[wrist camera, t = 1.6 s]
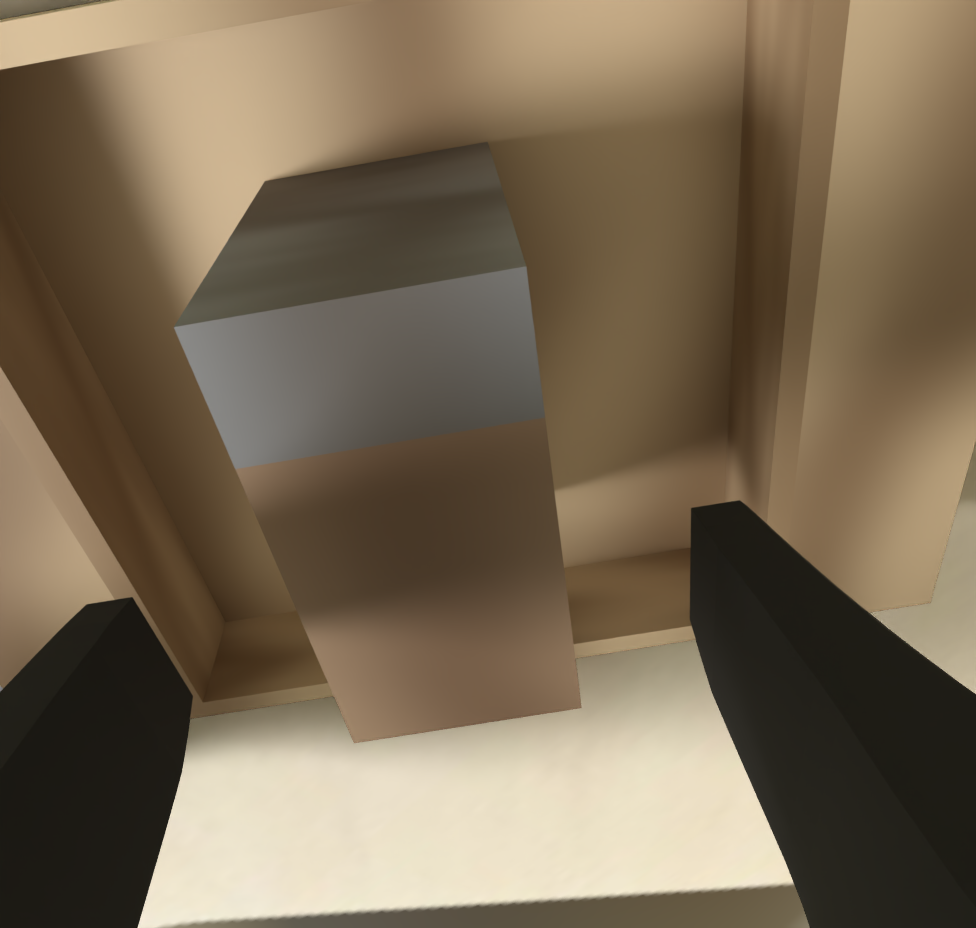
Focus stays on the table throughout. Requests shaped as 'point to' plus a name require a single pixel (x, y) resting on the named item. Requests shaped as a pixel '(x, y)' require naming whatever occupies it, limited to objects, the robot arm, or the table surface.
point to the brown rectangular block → (395, 436)
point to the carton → (551, 277)
